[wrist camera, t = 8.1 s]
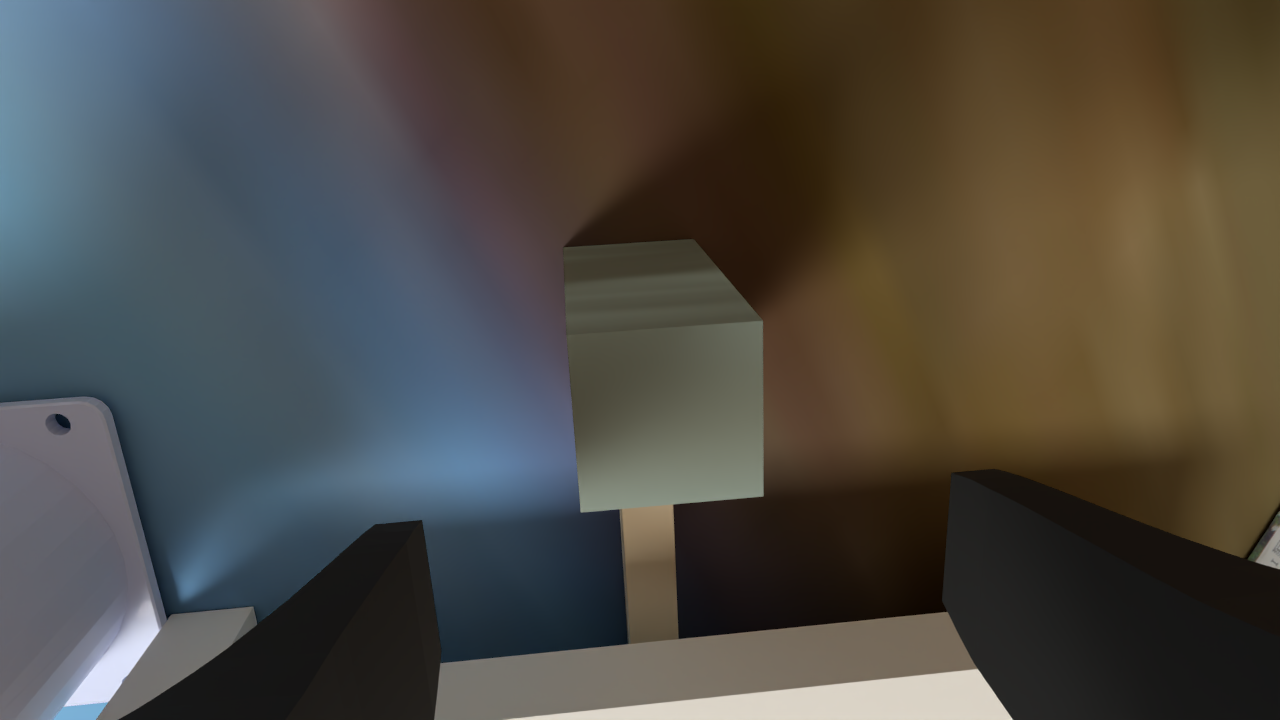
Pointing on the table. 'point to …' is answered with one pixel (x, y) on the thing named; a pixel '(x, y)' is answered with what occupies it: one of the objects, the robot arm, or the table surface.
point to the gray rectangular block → (660, 402)
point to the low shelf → (661, 675)
